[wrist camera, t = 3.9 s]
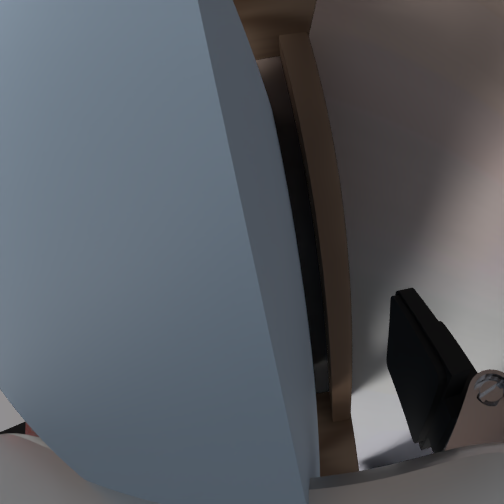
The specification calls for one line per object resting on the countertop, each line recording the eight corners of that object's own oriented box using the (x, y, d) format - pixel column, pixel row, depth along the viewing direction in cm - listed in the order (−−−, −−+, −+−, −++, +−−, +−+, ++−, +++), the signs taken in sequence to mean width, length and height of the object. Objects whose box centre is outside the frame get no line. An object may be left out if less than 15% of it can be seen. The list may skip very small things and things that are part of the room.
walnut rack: (299, 33, 11) (314, -97, 2) (345, 398, 19) (360, 512, 10) (31, 133, 15) (-83, 154, 5) (135, 403, 23) (93, 486, 13)
